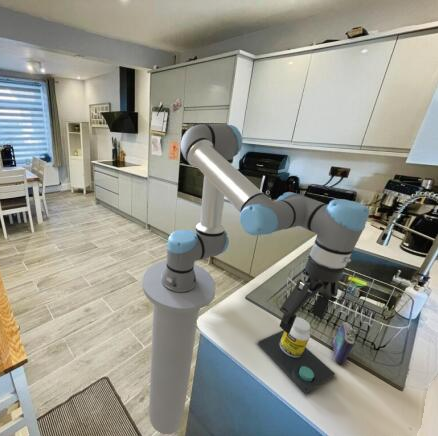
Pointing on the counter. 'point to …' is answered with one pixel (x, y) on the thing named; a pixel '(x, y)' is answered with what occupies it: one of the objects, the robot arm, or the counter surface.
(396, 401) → the counter surface
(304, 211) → the robot arm
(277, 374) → the counter surface
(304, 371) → the scale button
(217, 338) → the counter surface
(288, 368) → the scale
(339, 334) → the flask
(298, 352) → the pill bottle
